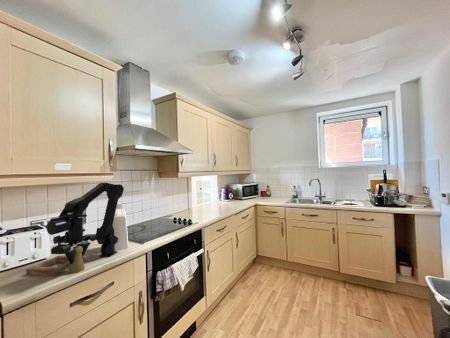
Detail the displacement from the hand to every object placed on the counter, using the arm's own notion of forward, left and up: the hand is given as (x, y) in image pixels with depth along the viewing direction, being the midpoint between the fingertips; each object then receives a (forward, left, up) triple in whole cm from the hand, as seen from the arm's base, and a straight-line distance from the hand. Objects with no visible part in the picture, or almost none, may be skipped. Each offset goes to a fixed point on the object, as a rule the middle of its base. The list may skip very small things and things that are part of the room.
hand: (76, 261), depth 93 cm
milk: (-29, -1, -4) cm, 29 cm away
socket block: (-2, -13, -4) cm, 14 cm away
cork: (0, 0, -4) cm, 4 cm away
